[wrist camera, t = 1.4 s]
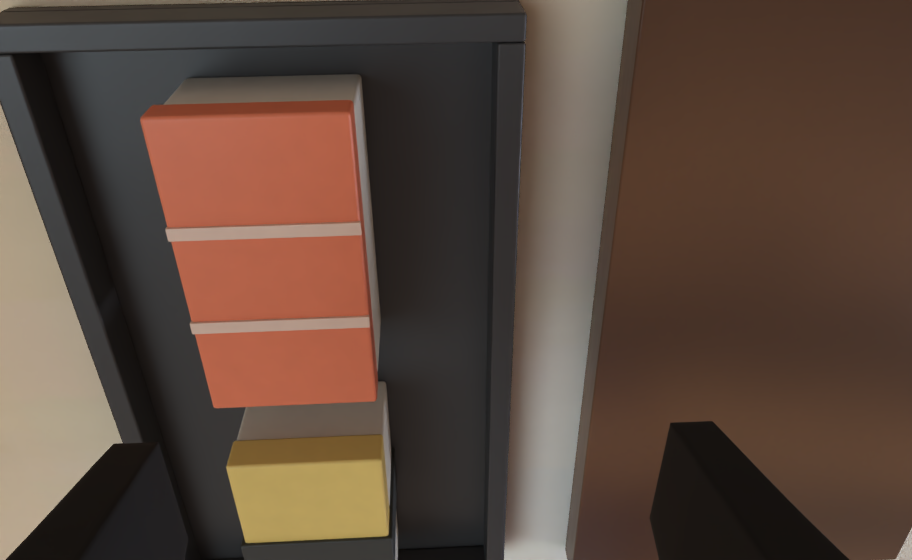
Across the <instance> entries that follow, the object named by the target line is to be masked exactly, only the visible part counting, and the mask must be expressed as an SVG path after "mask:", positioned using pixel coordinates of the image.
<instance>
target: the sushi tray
mask: <svg viewBox="0 0 912 560" xmlns="http://www.w3.org/2000/svg"><path fill="white" fill-rule="evenodd" d="M526 23H527V15H526V13H525V11H524V9H523V8H522V6H521V4H520V2H519V0H367V1H319V2H270V3H222V4H173V5H125V6H77V7H28V8H8V9H6V10H4V11H2V12H1V13H0V103H1V106H2V109H3V112H4V114H5V117H6V120H7V123H8V126H9V128H10V131H11V134H12V137H13V139H14V142H15V145H16V148H17V151H18V153H19V156H20V159H21V162H22V164H23V167H24V170H25V173H26V176H27V178H28V181H29V184H30V187H31V189H32V192H33V195H34V198H35V200H36V203H37V206H38V209H39V212H40V214H41V217H42V220H43V223H44V225H45V228H46V231H47V234H48V237H49V239H50V242H51V245H52V248H53V250H54V253H55V256H56V259H57V262H58V264H59V267H60V270H61V273H62V275H63V278H64V281H65V284H66V286H67V289H68V292H69V295H70V298H71V300H72V303H73V306H74V309H75V311H76V314H77V317H78V320H79V323H80V325H81V328H82V331H83V334H84V336H85V339H86V342H87V345H88V348H89V350H90V353H91V356H92V359H93V361H94V364H95V367H96V370H97V372H98V375H99V378H100V381H101V384H102V386H103V389H104V392H105V395H106V397H107V400H108V403H109V406H110V409H111V411H112V414H113V417H114V420H115V422H116V425H117V428H118V431H119V434H120V436H121V439H122V442H123V443H149V442H159V445H160V448H161V452H162V455H163V458H164V461H165V465H166V468H167V471H168V474H169V477H170V481H171V484H172V487H173V490H174V493H175V497H176V500H177V503H178V506H179V510H180V513H181V516H182V519H183V522H184V526H185V529H186V532H187V535H188V543H187V548H186V553H185V559H184V560H244V557H243V553H242V549H241V543H242V539H243V531H242V527H241V523H240V520H239V516H238V512H237V508H236V504H235V500H234V496H233V493H232V489H231V485H230V481H229V477H228V473H227V469H226V466H227V462H228V459H229V455H230V452H231V448H232V445H233V442H234V441H237V437H238V434H239V430H240V427H241V423H242V419H243V416H244V412H245V409H246V407H236V408H214V407H213V403H212V399H211V395H210V391H209V388H208V384H207V380H206V376H205V372H204V368H203V364H202V360H201V356H200V352H199V349H198V345H197V341H196V337H195V334H192V331H191V327H190V322H191V317H190V313H189V309H188V306H187V302H186V298H185V294H184V290H183V286H182V282H181V278H180V274H179V270H178V267H177V263H176V259H175V255H174V251H173V247H172V243H171V242H168V239H167V235H166V231H165V229H166V227H167V224H166V220H165V216H164V212H163V208H162V204H161V200H160V196H159V192H158V189H157V185H156V181H155V177H154V173H153V169H152V165H151V161H150V157H149V153H148V149H147V146H146V142H145V138H144V134H143V130H142V126H141V122H140V118H141V116H142V115H143V114H144V113H145V112H146V111H147V110H148V109H149V108H150V107H151V106H152V105H163V104H164V103H165V102H166V101H167V100H168V99H169V97H170V96H171V95H172V94H173V93H174V92H175V91H176V89H177V88H178V87H179V86H180V85H181V84H182V83H183V81H184V80H185V79H187V78H219V77H259V76H300V75H340V74H358V75H360V76H361V79H362V92H363V104H364V116H365V129H366V141H367V154H368V166H369V178H370V191H371V203H372V216H373V228H374V240H375V253H376V265H377V278H378V290H379V302H380V315H381V326H380V342H379V359H378V371H377V374H378V381H384V382H385V383H386V388H387V400H388V412H389V425H390V437H391V448H394V449H395V459H396V472H397V495H396V512H397V524H398V560H504V543H505V519H506V496H507V472H508V449H509V425H510V402H511V378H512V354H513V331H514V307H515V284H516V260H517V237H518V213H519V189H520V166H521V142H522V119H523V95H524V72H525V48H526V44H525V42H524V41H525V39H526Z"/></svg>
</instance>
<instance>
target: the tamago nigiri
mask: <svg viewBox="0 0 912 560" xmlns="http://www.w3.org/2000/svg"><path fill="white" fill-rule="evenodd" d="M226 469H227V473H228V477H229V481H230V485H231V489H232V493H233V496H234V500H235V504H236V508H237V512H238V516H239V520H240V523H241V527H242V531H243V539H242V543H241V549H242V553H243V557H244V560H398V524H397V512H396V495H397V472H396V459H395V449H394V448H391V437H390V425H389V412H388V400H387V388H386V383H385V382H384V381H378V391H377V399H376V401H374V402H354V403H330V404H307V405H283V406H260V407H246V409H245V412H244V416H243V419H242V423H241V427H240V430H239V434H238V437H237V441H234V442H233V445H232V448H231V452H230V455H229V459H228V462H227V466H226Z"/></svg>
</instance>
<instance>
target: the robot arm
mask: <svg viewBox="0 0 912 560" xmlns="http://www.w3.org/2000/svg"><path fill="white" fill-rule="evenodd" d="M650 522H651V527H652V531H653V535H654V540H655V544H656V549H657V553H658V557H659V560H849V559H848V558H847V557H846V556H845V555H844V554H843V553H842V552H841V551H840V550H839V549H838V548H837V547H836V546H835V545H834V544H833V543H832V542H831V541H830V540H829V539H828V538H827V537H826V536H825V535H824V534H823V533H822V532H821V531H820V530H818V529H817V528H816V527H815V526H814V525H813V524H812V523H811V522H810V521H809V520H808V519H807V518H806V517H805V516H804V515H803V514H802V513H801V512H800V511H799V510H798V509H797V508H796V507H795V506H794V505H793V504H792V503H791V502H790V501H789V500H788V499H787V498H786V497H785V496H784V495H783V494H782V493H781V492H780V491H779V489H778V488H777V487H776V486H775V485H774V484H773V483H772V482H771V481H770V480H769V479H768V478H767V477H766V476H765V475H764V474H763V473H762V472H761V471H760V470H759V469H758V468H757V467H756V466H755V465H754V464H753V463H752V462H751V460H750V459H749V458H748V457H747V456H746V455H745V454H744V453H743V452H742V451H741V450H740V449H739V448H738V447H737V446H736V445H735V444H734V443H733V442H732V441H731V440H730V439H729V438H728V436H727V435H726V434H725V433H724V432H723V431H722V430H721V429H720V428H719V427H718V426H717V425H716V424H715V423H714V422H713V421H700V422H674V423H670V427H669V431H668V436H667V440H666V445H665V449H664V454H663V459H662V463H661V468H660V472H659V477H658V481H657V486H656V490H655V495H654V499H653V504H652V509H651V513H650ZM187 543H188V535H187V532H186V529H185V526H184V522H183V519H182V516H181V513H180V510H179V506H178V503H177V500H176V497H175V493H174V490H173V487H172V484H171V481H170V477H169V474H168V471H167V468H166V465H165V461H164V458H163V455H162V452H161V448H160V445H159V442H149V443H122V444H113V445H112V446H111V447H110V448H109V449H108V450H107V451H106V452H105V454H104V455H103V456H102V457H101V458H100V459H99V460H98V461H97V462H96V463H95V464H94V465H93V466H92V467H91V468H90V470H89V471H88V472H87V473H86V474H85V475H84V476H83V477H82V478H81V479H80V480H79V482H78V483H77V484H76V485H75V486H74V487H73V488H72V489H71V490H70V491H69V492H68V494H67V495H66V496H65V497H64V498H63V499H62V500H61V501H60V502H59V503H58V505H57V506H56V507H55V508H54V509H53V510H52V511H51V512H50V513H49V514H48V515H47V516H46V518H45V519H44V520H43V521H42V522H41V523H40V524H39V525H38V526H37V527H36V528H35V529H34V530H33V532H32V533H31V534H30V535H29V536H28V537H27V538H26V539H25V540H24V541H23V542H22V543H21V544H20V545H19V546H18V547H17V548H16V549H15V550H14V552H13V553H12V554H11V555H10V556H9V557H8V558H7V559H6V560H184V559H185V553H186V548H187Z"/></svg>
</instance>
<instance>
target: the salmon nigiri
mask: <svg viewBox="0 0 912 560" xmlns="http://www.w3.org/2000/svg"><path fill="white" fill-rule="evenodd" d="M140 122H141V126H142V130H143V134H144V138H145V142H146V146H147V149H148V153H149V157H150V161H151V165H152V169H153V173H154V177H155V181H156V185H157V189H158V192H159V196H160V200H161V204H162V208H163V212H164V216H165V220H166V224H167V227H166V229H165V231H166V235H167V239H168V242H171V243H172V247H173V251H174V255H175V259H176V263H177V267H178V270H179V274H180V278H181V282H182V286H183V290H184V294H185V298H186V302H187V306H188V309H189V313H190V317H191V322H190V327H191V331H192V334H195V337H196V341H197V345H198V349H199V352H200V356H201V360H202V364H203V368H204V372H205V376H206V380H207V384H208V388H209V391H210V395H211V399H212V403H213V407H214V408H236V407H260V406H283V405H307V404H330V403H354V402H374V401H376V399H377V391H378V374H377V371H378V359H379V342H380V326H381V315H380V302H379V290H378V278H377V265H376V253H375V240H374V228H373V216H372V203H371V191H370V178H369V166H368V154H367V141H366V129H365V116H364V104H363V92H362V79H361V76H360V75H358V74H340V75H300V76H259V77H219V78H187V79H185V80H184V81H183V83H182V84H181V85H180V86H179V87H178V88H177V89H176V91H175V92H174V93H173V94H172V95H171V96H170V97H169V99H168V100H167V101H166V102H165V103H164V104H163V105H152V106H151V107H150V108H149V109H148V110H147V111H146V112H145V113H144V114H143V115H142V116H141V118H140Z"/></svg>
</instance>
